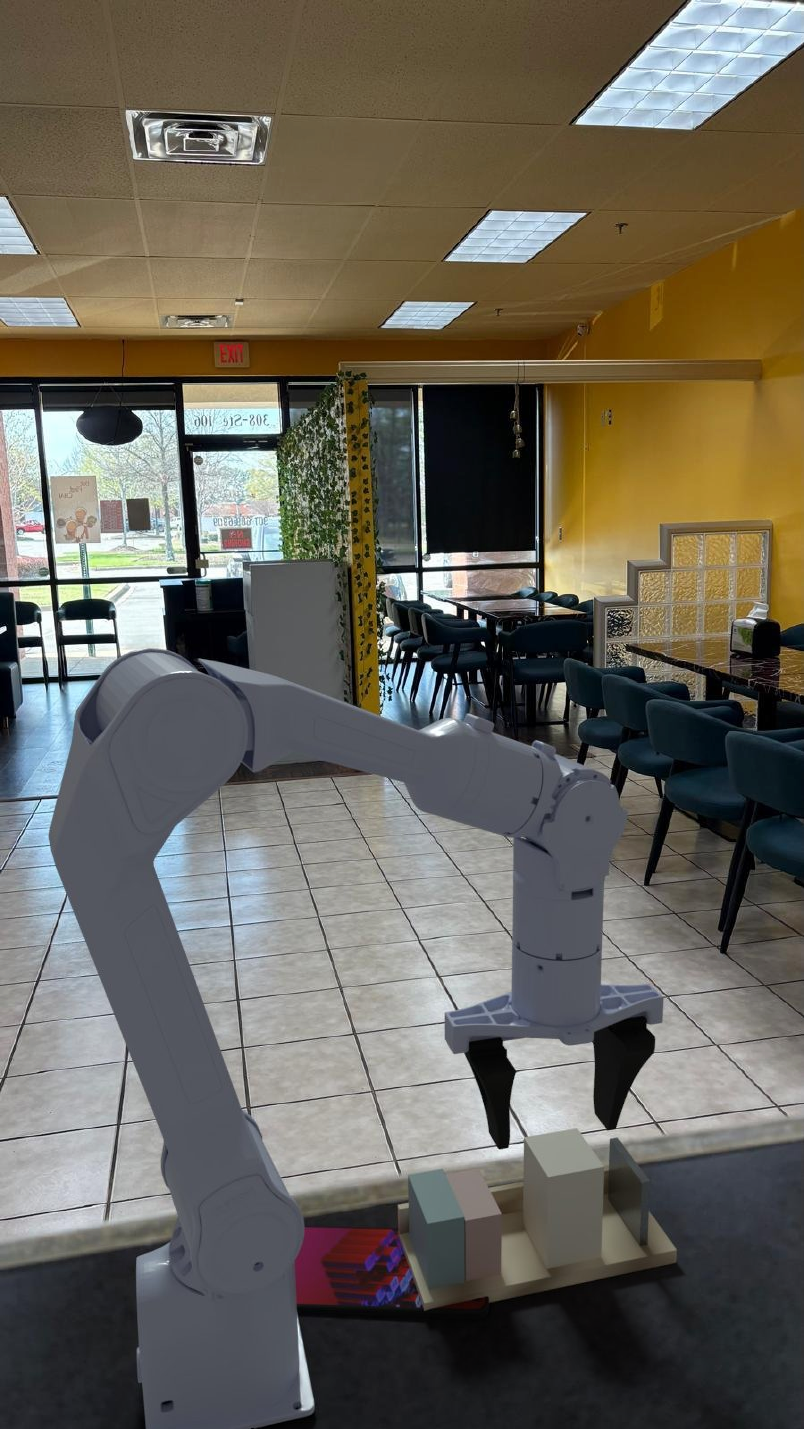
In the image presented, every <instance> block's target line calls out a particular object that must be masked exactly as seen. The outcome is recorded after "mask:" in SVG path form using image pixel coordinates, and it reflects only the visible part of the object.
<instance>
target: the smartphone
mask: <svg viewBox="0 0 804 1429" xmlns="http://www.w3.org/2000/svg"><path fill="white" fill-rule="evenodd" d="M304 1226H305V1228H304V1238H303V1243H302V1246H301V1249H300V1251H299V1253H298V1255H297V1257H296V1259H295V1282H296V1304H297V1313H311V1314H332V1315H333V1314H336V1315H337V1314H338V1315H354V1316H355V1315H356V1316H357V1315H359V1316H360V1315H361V1316H380V1317H381V1316H382V1317H405V1318H407V1317H408V1318H427V1319H429V1318H430V1319H431V1318H433V1319H452V1320H454V1319H455V1320H474V1321H475V1320H481V1319H483V1318H485V1317H486V1316H488V1313H489V1311H490V1303H489V1297H488V1296H485V1297H482V1298H476V1299H472V1300H468V1301H464V1302H459V1303H455V1304H450V1305H446V1306H441V1307H437V1308H432V1309H428V1310H426V1311H424V1308H423V1305H422V1302H421V1299H420V1296H419V1294H418V1291H417V1288H416V1285H415V1282H414V1279H413V1277H412V1274H411V1271H410V1268H409V1265H408V1262H407V1260H406V1257H405V1254H404V1251H403V1248H402V1245H401V1242H400V1240H399V1237H398V1227H378V1226H377V1227H369V1226H368V1227H367V1226H366V1227H363V1226H336V1225H335V1226H334V1225H333V1226H332V1225H331V1226H330V1225H329V1226H328V1225H304Z"/></svg>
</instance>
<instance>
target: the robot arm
mask: <svg viewBox="0 0 804 1429" xmlns="http://www.w3.org/2000/svg"><path fill="white" fill-rule="evenodd" d="M197 661H198V662H199V664H200V665H202V666H203V668H205V670H206V671H207V673H208V674H205V673H203V672H201V671H198V669H197V668H196V666H194V665H193V664H192V663H191V662H190V661H189V660H187V659H186V658H185V657H183V656H182V655H180V654H178V653H176V652H174V651H171V650H167V649H164V648H158V647H157V648H155V647H145V648H138V649H135V650H131V651H129V652H127V653H124V654H122V655H121V656H119V657H118V658H115V659H114V660H113V661H112V662H111V663H110V664H109V665H108V666H107V667H106V668H105V669H104V671H102V673H101V674H100V676H99V677H98V679H97V680H96V681H95V683H94V684H93V685H92V687H91V688H90V689H89V691H88V693H87V694H86V696H85V697H84V698H83V700H82V701H81V702H80V704H79V705H78V706H77V708H76V710H75V713H74V722H73V727H72V728H73V729H72V738H71V743H70V748H69V752H68V756H67V759H66V764H65V765H64V766H65V768H64V769H63V770H64V772H63V775H62V779H61V782H60V785H59V790H58V795H57V798H56V803H55V804H54V805H55V806H54V810H53V814H52V818H51V821H50V825H49V830H48V841H49V842H48V843H49V847H50V848H49V849H50V852H51V853H50V854H51V855H52V858H53V862H54V865H55V869H56V871H57V873H58V876H59V879H60V881H61V883H62V886H63V890H64V891H65V893H66V894H65V895H66V896H67V899H68V901H69V904H70V906H71V909H72V911H73V913H74V917H75V918H76V921H77V923H78V924H77V925H78V926H79V929H80V932H81V934H82V937H83V940H84V942H85V945H86V946H87V950H88V952H89V954H90V957H91V959H92V963H93V964H94V967H95V969H96V971H97V975H98V977H99V980H100V982H101V984H102V987H103V989H104V993H105V994H106V997H107V1000H108V1003H109V1005H110V1007H111V1008H110V1009H111V1010H112V1013H113V1015H114V1017H115V1020H116V1022H117V1024H118V1028H119V1030H120V1032H121V1035H122V1037H123V1039H124V1043H125V1045H126V1048H127V1050H128V1053H129V1056H130V1058H131V1060H132V1063H133V1065H134V1069H135V1072H136V1074H137V1075H138V1078H139V1081H140V1082H141V1083H140V1084H141V1086H142V1088H143V1091H144V1093H145V1096H146V1098H147V1102H148V1103H149V1106H150V1108H151V1111H152V1114H153V1116H154V1118H155V1121H156V1124H157V1126H158V1129H159V1131H160V1134H161V1137H162V1139H163V1143H162V1149H161V1150H162V1151H161V1156H160V1171H161V1176H162V1178H163V1181H164V1184H165V1186H166V1187H167V1189H168V1190H169V1192H170V1195H171V1198H172V1202H173V1205H174V1208H175V1211H176V1215H177V1218H176V1221H175V1224H174V1227H173V1230H172V1234H171V1240H170V1241H169V1242H167V1243H166V1244H165V1245H163V1246H161V1247H159V1248H156V1249H154V1250H153V1251H149V1252H147V1253H144V1254H141V1255H138V1256H137V1257H136V1259H135V1260H136V1262H135V1263H136V1266H135V1279H136V1280H135V1285H136V1286H135V1290H136V1292H135V1294H136V1296H135V1297H136V1313H137V1314H136V1315H137V1316H136V1317H137V1335H138V1336H137V1338H138V1347H137V1348H136V1372H137V1381H138V1383H139V1384H141V1383H142V1384H141V1385H142V1386H141V1387H142V1396H143V1398H142V1399H143V1407H144V1408H143V1409H144V1421H145V1429H251V1428H254V1429H257V1428H262V1427H266V1426H269V1425H275V1424H278V1423H283V1422H287V1421H292V1420H297V1419H301V1418H306V1417H308V1416H309V1417H310V1415H312V1414H313V1413H314V1412H315V1399H314V1394H313V1389H312V1384H311V1378H310V1373H309V1368H308V1362H307V1357H306V1351H305V1348H304V1342H303V1335H302V1330H301V1326H300V1321H299V1315H298V1312H297V1304H296V1282H295V1259H296V1257H297V1255H298V1253H299V1251H300V1249H301V1246H302V1243H303V1238H304V1228H305V1226H306V1225H305V1219H304V1216H303V1213H302V1209H300V1207H299V1205H298V1203H297V1201H296V1200H295V1198H293V1197H292V1196H291V1195H290V1193H289V1192H288V1189H287V1187H286V1186H285V1183H284V1181H283V1179H282V1177H281V1175H280V1173H279V1171H278V1169H277V1168H276V1165H275V1164H274V1161H273V1159H272V1157H271V1155H270V1153H269V1152H268V1150H267V1147H266V1146H265V1143H264V1141H263V1135H262V1133H261V1130H260V1127H259V1125H258V1123H257V1122H256V1120H255V1118H253V1117H252V1115H250V1114H249V1113H248V1112H246V1111H245V1110H243V1108H242V1106H241V1103H240V1100H239V1098H238V1095H237V1091H236V1090H235V1089H236V1088H235V1086H234V1084H233V1080H232V1078H231V1075H230V1072H229V1070H228V1067H227V1063H226V1062H225V1059H224V1056H223V1053H222V1050H221V1048H220V1045H219V1043H218V1042H219V1041H218V1039H217V1037H216V1034H215V1032H214V1028H213V1025H212V1023H211V1020H210V1018H209V1015H208V1012H207V1009H206V1007H205V1003H204V1000H203V998H202V995H201V991H200V989H199V987H198V985H197V984H198V983H197V981H196V979H195V976H194V973H193V970H192V968H191V965H190V963H189V959H188V956H187V954H186V951H185V948H184V945H183V943H182V940H181V937H180V935H179V931H178V928H177V926H176V923H175V920H174V918H173V915H172V913H171V910H170V907H169V904H168V901H167V899H166V895H165V893H164V889H163V887H162V885H161V881H160V879H159V876H158V874H157V871H156V869H155V859H156V857H157V856H158V854H159V853H160V851H161V849H162V848H163V847H164V845H165V844H166V842H167V840H168V839H169V838H170V836H171V835H172V833H173V831H174V830H175V828H176V826H177V825H178V824H180V823H181V822H182V821H183V820H184V819H185V818H187V817H188V816H189V815H191V814H192V813H193V812H194V811H195V810H197V808H199V807H200V806H201V805H203V803H205V802H206V801H207V800H208V799H209V798H210V797H212V796H213V795H214V794H215V793H216V792H218V791H219V790H220V789H221V788H222V787H223V786H224V785H225V784H226V783H227V782H228V781H229V780H230V779H231V778H232V777H233V776H234V774H235V773H236V771H237V770H238V769H239V767H240V765H241V763H242V764H243V765H244V766H245V767H246V768H247V769H249V770H250V772H252V773H258V772H261V771H262V770H265V769H266V768H268V767H270V766H271V765H273V764H275V763H276V762H277V761H279V760H281V759H283V758H284V757H286V756H287V755H289V754H299V755H302V756H305V757H309V758H312V759H316V760H320V761H324V762H328V763H330V764H334V765H338V766H343V767H346V768H349V769H353V770H357V771H361V772H364V773H368V774H372V775H375V776H379V777H383V778H386V779H390V780H394V781H397V782H401V783H403V784H404V786H405V789H406V790H407V792H408V794H409V798H410V799H411V802H412V803H413V804H414V806H415V807H416V808H417V810H419V811H421V812H424V813H425V814H426V813H427V814H429V815H434V816H435V817H436V816H437V817H440V818H443V819H446V820H449V821H453V822H457V823H460V824H462V825H466V826H469V827H471V828H476V829H479V830H482V831H486V832H489V833H492V834H496V835H499V836H501V837H506V838H513V843H512V844H513V846H512V847H513V849H512V850H513V851H512V852H513V853H512V854H513V855H512V857H513V858H512V859H513V860H512V861H513V862H512V863H513V864H512V934H511V935H512V936H511V938H512V939H511V991H510V992H507V993H504V994H501V995H498V996H496V997H492V998H490V999H487V1000H484V1001H482V1002H479V1003H476V1004H474V1005H470V1006H467V1007H465V1008H461V1009H457V1010H452V1011H451V1010H450V1011H446V1012H444V1040H445V1042H446V1044H447V1046H448V1048H449V1049H450V1051H451V1053H452V1054H453V1055H457V1054H464V1056H465V1058H466V1060H467V1062H468V1063H467V1064H469V1066H470V1069H471V1071H472V1074H473V1076H474V1079H475V1081H476V1084H477V1087H478V1090H479V1093H480V1096H481V1100H482V1103H483V1108H484V1110H485V1115H486V1117H485V1118H486V1121H487V1122H486V1123H487V1128H488V1134H489V1136H490V1138H491V1139H492V1141H493V1142H494V1144H495V1146H496V1149H497V1150H505V1149H509V1147H510V1141H511V1119H510V1118H511V1117H510V1116H511V1115H510V1111H511V1110H510V1107H511V1098H512V1093H513V1092H512V1091H513V1085H514V1080H515V1077H516V1074H517V1070H516V1068H515V1067H514V1065H513V1063H511V1060H510V1059H509V1057H508V1050H507V1048H505V1046H504V1042H507V1041H513V1040H520V1039H526V1038H527V1039H547V1040H548V1039H549V1040H559V1041H560V1042H561V1043H562V1044H564V1045H565V1046H579V1045H585V1044H589V1043H593V1054H594V1055H593V1056H594V1058H593V1059H594V1076H593V1095H592V1098H593V1100H592V1101H593V1109H594V1110H593V1111H594V1112H593V1113H594V1114H595V1115H594V1116H596V1117H597V1119H598V1120H599V1121H600V1122H601V1124H602V1125H603V1128H605V1130H606V1131H613V1130H616V1129H617V1126H618V1123H619V1120H620V1118H621V1117H620V1116H621V1114H622V1112H623V1108H624V1104H625V1102H626V1099H627V1097H628V1094H629V1092H630V1090H631V1087H632V1085H633V1083H634V1082H635V1079H637V1076H638V1074H639V1073H640V1072H641V1070H642V1068H643V1067H644V1066H645V1064H646V1063H647V1062H648V1060H649V1059H650V1058H651V1057H652V1056H653V1055H654V1053H655V1048H656V1035H654V1034H653V1033H652V1032H651V1030H649V1028H647V1027H648V1026H647V1025H650V1026H651V1025H657V1024H662V1023H663V1016H664V998H665V997H664V996H663V995H662V994H661V993H660V992H658V990H657V989H655V987H653V986H652V985H651V984H650V983H643V984H631V985H629V984H627V985H625V984H602V963H603V962H602V961H603V960H602V959H603V958H602V956H603V932H604V930H603V928H604V926H603V925H604V900H605V898H604V897H605V896H604V895H605V894H604V892H605V881H606V877H607V876H609V875H610V861H611V860H610V859H611V857H612V856H611V855H612V853H613V850H614V849H615V847H616V846H617V844H618V843H619V841H620V840H621V838H622V836H623V834H624V831H625V828H626V827H627V826H626V825H627V821H628V814H629V811H628V810H627V809H624V807H621V806H622V805H621V803H620V797H619V792H618V791H617V790H618V789H617V787H616V786H615V785H614V784H612V780H611V779H610V777H608V776H607V775H606V774H604V773H603V772H600V771H599V770H596V769H594V768H591V767H588V766H586V765H584V764H581V763H580V762H579V763H578V762H576V761H573V760H571V759H569V758H567V757H564V756H561V754H557V753H556V752H557V749H556V747H555V746H552V745H550V744H549V743H546V742H543V741H540V740H534V741H533V742H532V743H531V745H529V744H526V743H523V742H521V741H517V740H515V739H512V738H510V737H507V736H504V735H501V734H498V733H495V732H493V730H494V727H495V723H494V722H492V721H490V720H487V719H485V718H483V717H480V716H477V715H474V714H471V713H466V714H465V716H464V718H463V721H462V720H460V719H456V718H453V717H445V718H441V719H439V720H436V721H435V722H432V723H431V724H429V725H426V726H425V727H423V728H421V729H416V728H413V727H411V726H408V725H406V724H402V723H399V722H397V721H394V720H393V719H390V718H387V717H384V716H382V715H378V714H376V713H374V712H371V711H368V710H366V709H364V708H361V707H358V706H357V705H356V706H355V705H353V704H350V703H347V702H345V701H342V700H340V699H337V698H334V697H332V696H329V695H328V694H325V693H321V692H319V691H316V690H313V689H311V688H309V687H306V686H304V685H300V684H298V683H295V682H292V681H290V680H287V679H285V678H282V677H279V676H276V675H273V674H270V673H266V672H261V671H257V670H253V669H249V668H245V667H241V666H237V665H233V664H229V663H225V662H220V661H217V660H209V659H204V658H203V659H202V658H198V659H197ZM296 1408H298V1409H296Z"/></svg>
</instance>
